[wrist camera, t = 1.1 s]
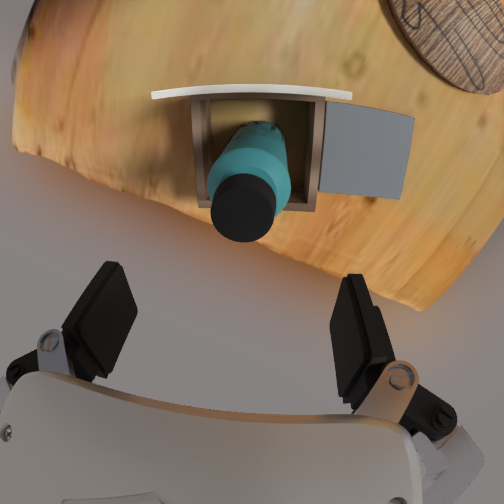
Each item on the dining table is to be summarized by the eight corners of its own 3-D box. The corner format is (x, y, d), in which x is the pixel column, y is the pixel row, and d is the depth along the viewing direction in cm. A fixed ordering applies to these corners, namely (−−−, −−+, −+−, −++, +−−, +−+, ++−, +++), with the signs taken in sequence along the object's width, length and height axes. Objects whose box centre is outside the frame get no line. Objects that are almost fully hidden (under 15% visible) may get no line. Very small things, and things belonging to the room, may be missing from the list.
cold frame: (201, 86, 28) (151, 91, 16) (318, 87, 27) (352, 92, 15) (207, 191, 36) (173, 256, 24) (310, 195, 36) (328, 263, 24)
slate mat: (325, 100, 28) (327, 101, 27) (411, 116, 27) (414, 118, 27) (317, 189, 35) (319, 191, 34) (396, 196, 34) (399, 199, 34)
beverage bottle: (294, 130, 31) (319, 192, 15) (271, 174, 34) (268, 275, 18) (245, 109, 30) (208, 144, 13) (225, 155, 33) (176, 239, 17)
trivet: (466, 124, 26) (474, 127, 25) (346, -9, 19) (350, -14, 17) (524, 49, 14) (531, 50, 12) (429, -67, 6) (434, -70, 5)
